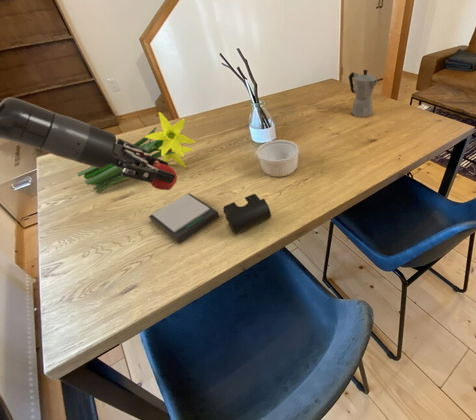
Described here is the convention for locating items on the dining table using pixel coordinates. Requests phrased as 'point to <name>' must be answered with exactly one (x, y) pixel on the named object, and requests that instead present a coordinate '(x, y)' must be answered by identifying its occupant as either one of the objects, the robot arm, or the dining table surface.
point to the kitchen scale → (184, 217)
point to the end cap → (247, 213)
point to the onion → (162, 184)
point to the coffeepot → (362, 93)
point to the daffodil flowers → (164, 144)
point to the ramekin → (278, 157)
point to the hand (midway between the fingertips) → (169, 172)
